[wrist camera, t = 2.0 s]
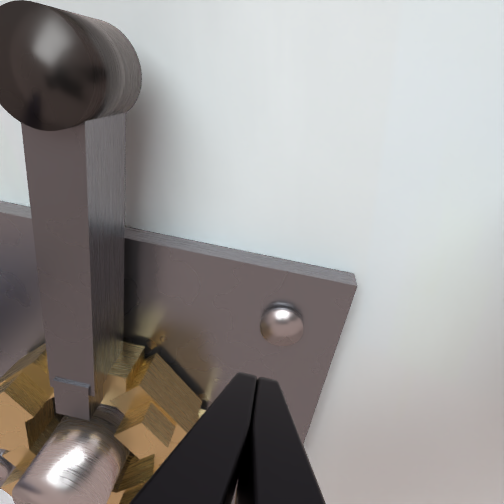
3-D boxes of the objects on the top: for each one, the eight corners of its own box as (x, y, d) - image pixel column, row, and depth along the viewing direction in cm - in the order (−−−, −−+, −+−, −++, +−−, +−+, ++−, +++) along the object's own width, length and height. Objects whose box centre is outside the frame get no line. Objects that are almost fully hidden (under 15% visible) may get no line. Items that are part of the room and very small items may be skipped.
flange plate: (354, 273, 15) (381, 379, 10) (267, 535, 24) (256, 665, 19) (-98, 180, 16) (-297, 232, 11) (-22, 466, 25) (-111, 572, 20)
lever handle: (261, 49, 11) (245, 39, 8) (193, 490, 21) (174, 563, 18) (-46, -6, 12) (-176, -37, 8) (29, 452, 21) (-18, 516, 18)
